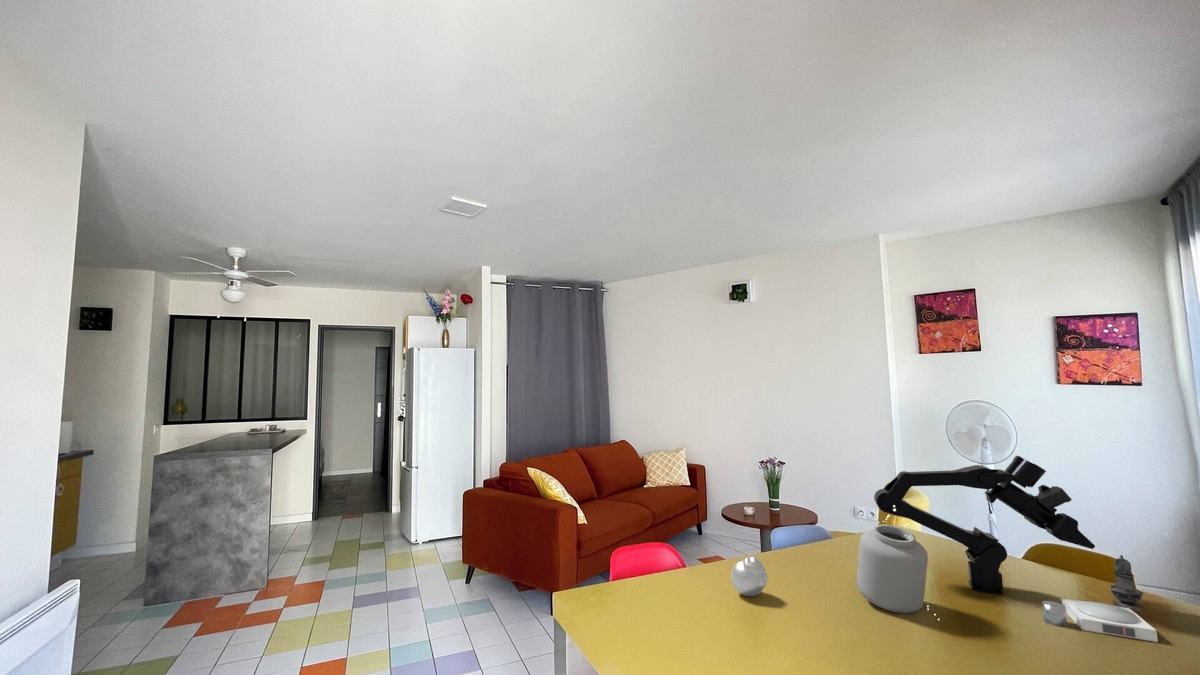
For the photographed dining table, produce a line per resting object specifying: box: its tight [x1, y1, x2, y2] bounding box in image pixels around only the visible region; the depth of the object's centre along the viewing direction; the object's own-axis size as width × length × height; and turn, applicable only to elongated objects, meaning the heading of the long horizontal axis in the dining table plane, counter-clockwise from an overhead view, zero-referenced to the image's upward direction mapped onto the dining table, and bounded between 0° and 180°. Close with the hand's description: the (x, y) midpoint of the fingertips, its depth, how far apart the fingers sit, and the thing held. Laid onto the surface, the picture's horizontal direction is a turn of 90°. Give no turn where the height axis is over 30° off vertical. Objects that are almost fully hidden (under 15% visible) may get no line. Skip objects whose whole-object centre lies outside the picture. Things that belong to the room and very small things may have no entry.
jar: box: [856, 506, 940, 621], centre depth 123 cm, size 19×15×25 cm
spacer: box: [1041, 600, 1068, 628], centre depth 113 cm, size 4×4×4 cm
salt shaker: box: [1108, 554, 1144, 611], centre depth 122 cm, size 6×6×12 cm
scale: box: [1061, 598, 1159, 643], centre depth 112 cm, size 12×13×3 cm
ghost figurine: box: [730, 556, 769, 597], centre depth 130 cm, size 9×10×10 cm
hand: (1084, 542), depth 125 cm, fingers open, 9 cm apart
